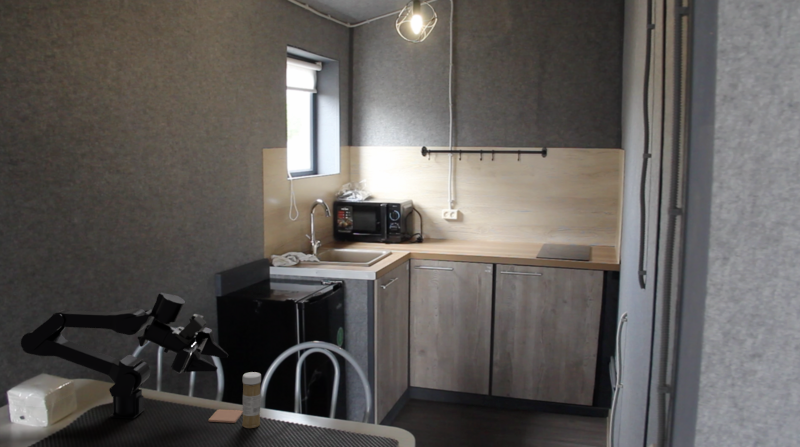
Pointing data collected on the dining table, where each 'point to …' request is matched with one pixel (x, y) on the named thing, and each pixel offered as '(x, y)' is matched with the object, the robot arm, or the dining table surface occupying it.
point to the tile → (226, 416)
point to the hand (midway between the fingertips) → (222, 362)
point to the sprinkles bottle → (251, 399)
